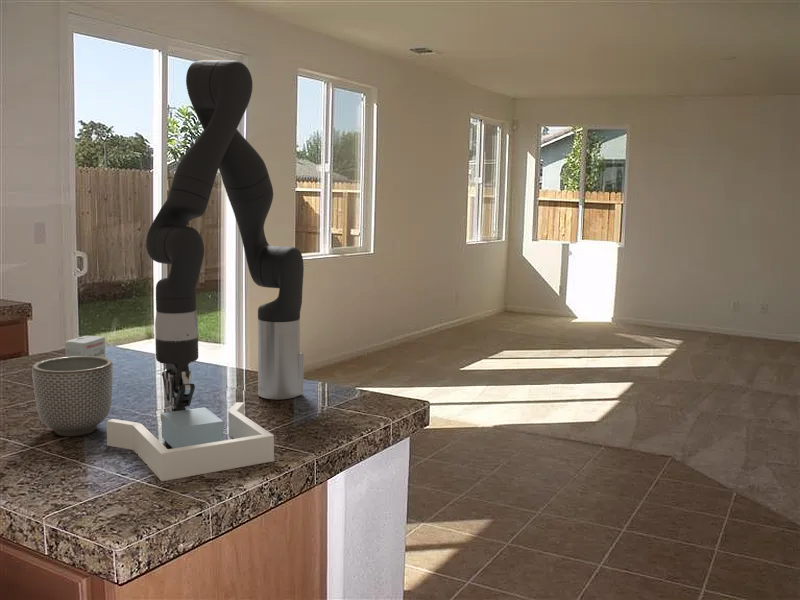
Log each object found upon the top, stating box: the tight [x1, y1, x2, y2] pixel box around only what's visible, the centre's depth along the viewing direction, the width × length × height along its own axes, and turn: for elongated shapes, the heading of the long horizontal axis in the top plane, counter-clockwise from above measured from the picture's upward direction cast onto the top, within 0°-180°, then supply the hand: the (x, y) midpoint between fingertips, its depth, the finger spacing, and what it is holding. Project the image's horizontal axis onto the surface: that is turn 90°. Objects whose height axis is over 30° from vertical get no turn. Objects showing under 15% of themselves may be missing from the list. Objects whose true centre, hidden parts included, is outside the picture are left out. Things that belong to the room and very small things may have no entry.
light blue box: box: [160, 406, 224, 449], centre depth 141 cm, size 8×10×6 cm
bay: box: [106, 401, 275, 482], centre depth 139 cm, size 26×23×4 cm
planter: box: [31, 356, 114, 437], centre depth 148 cm, size 14×14×13 cm
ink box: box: [64, 335, 107, 358], centre depth 177 cm, size 9×5×12 cm, turn 168°
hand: (178, 426), depth 148 cm, fingers closed
